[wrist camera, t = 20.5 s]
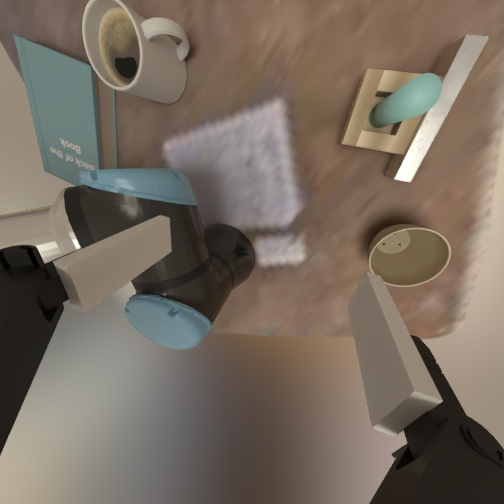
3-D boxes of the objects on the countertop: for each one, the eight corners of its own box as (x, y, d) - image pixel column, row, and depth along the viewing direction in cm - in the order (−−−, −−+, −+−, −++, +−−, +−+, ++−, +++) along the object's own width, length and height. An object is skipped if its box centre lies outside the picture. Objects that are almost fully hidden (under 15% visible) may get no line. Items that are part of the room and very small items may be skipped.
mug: (140, 94, 36) (85, 77, 27) (142, 20, 31) (75, -28, 22) (193, 116, 35) (153, 105, 27) (203, 44, 30) (159, 3, 22)
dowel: (364, 125, 28) (392, 113, 18) (375, 99, 27) (411, 70, 17) (386, 129, 28) (427, 119, 18) (398, 103, 26) (450, 76, 16)
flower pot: (348, 237, 37) (355, 254, 31) (404, 200, 32) (425, 212, 26) (380, 273, 38) (393, 297, 32) (439, 244, 33) (467, 265, 27)
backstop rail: (383, 174, 31) (394, 178, 27) (440, 54, 24) (466, 34, 20) (397, 177, 31) (410, 182, 27) (458, 56, 24) (489, 36, 19)
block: (339, 144, 31) (341, 143, 28) (361, 78, 27) (367, 68, 24) (393, 153, 30) (403, 154, 26) (425, 85, 26) (442, 76, 22)
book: (120, 193, 48) (101, 197, 44) (64, 167, 49) (41, 169, 45) (117, 75, 36) (90, 66, 32) (44, 45, 37) (8, 32, 33)
